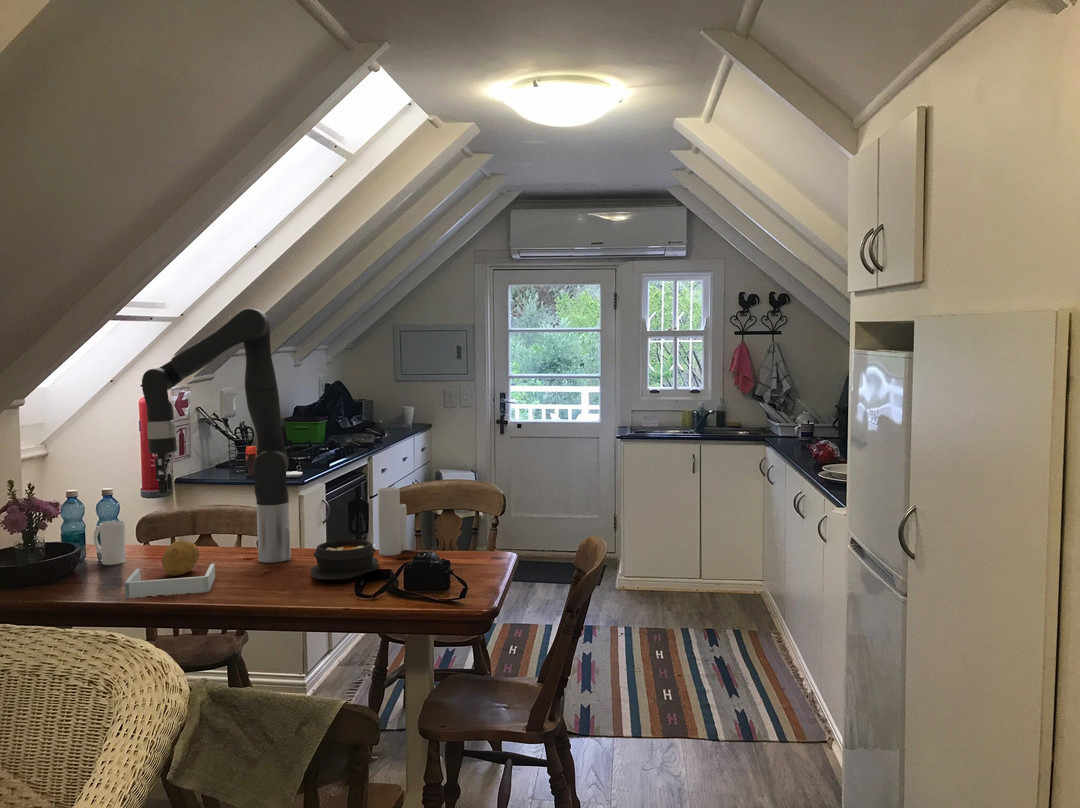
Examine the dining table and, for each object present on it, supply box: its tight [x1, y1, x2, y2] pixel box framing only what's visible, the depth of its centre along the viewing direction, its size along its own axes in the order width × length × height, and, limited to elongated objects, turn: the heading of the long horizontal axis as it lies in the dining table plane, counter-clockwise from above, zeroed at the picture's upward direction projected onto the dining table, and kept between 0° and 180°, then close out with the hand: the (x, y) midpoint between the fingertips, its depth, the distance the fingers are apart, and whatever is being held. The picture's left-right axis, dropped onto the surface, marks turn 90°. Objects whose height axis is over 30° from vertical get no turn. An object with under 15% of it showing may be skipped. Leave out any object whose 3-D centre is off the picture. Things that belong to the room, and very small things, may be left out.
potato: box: [161, 540, 200, 577], centre depth 244 cm, size 10×13×9 cm
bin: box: [124, 563, 216, 600], centre depth 230 cm, size 20×15×4 cm
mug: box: [93, 520, 126, 566], centre depth 259 cm, size 10×7×12 cm, turn 75°
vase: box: [377, 486, 408, 557], centre depth 268 cm, size 11×7×20 cm, turn 169°
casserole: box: [309, 538, 380, 581], centre depth 241 cm, size 25×19×8 cm
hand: (165, 491), depth 255 cm, fingers open, 8 cm apart
